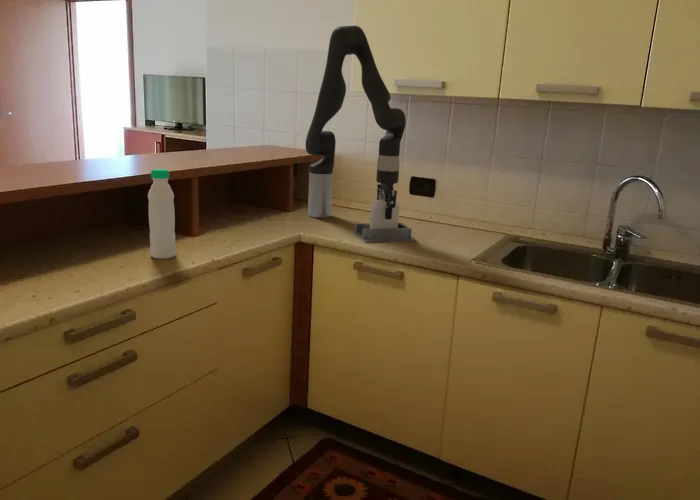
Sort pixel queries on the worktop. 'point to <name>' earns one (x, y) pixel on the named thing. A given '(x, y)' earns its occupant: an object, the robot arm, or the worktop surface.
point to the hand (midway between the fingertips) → (384, 216)
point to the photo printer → (383, 216)
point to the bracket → (383, 233)
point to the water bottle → (161, 216)
